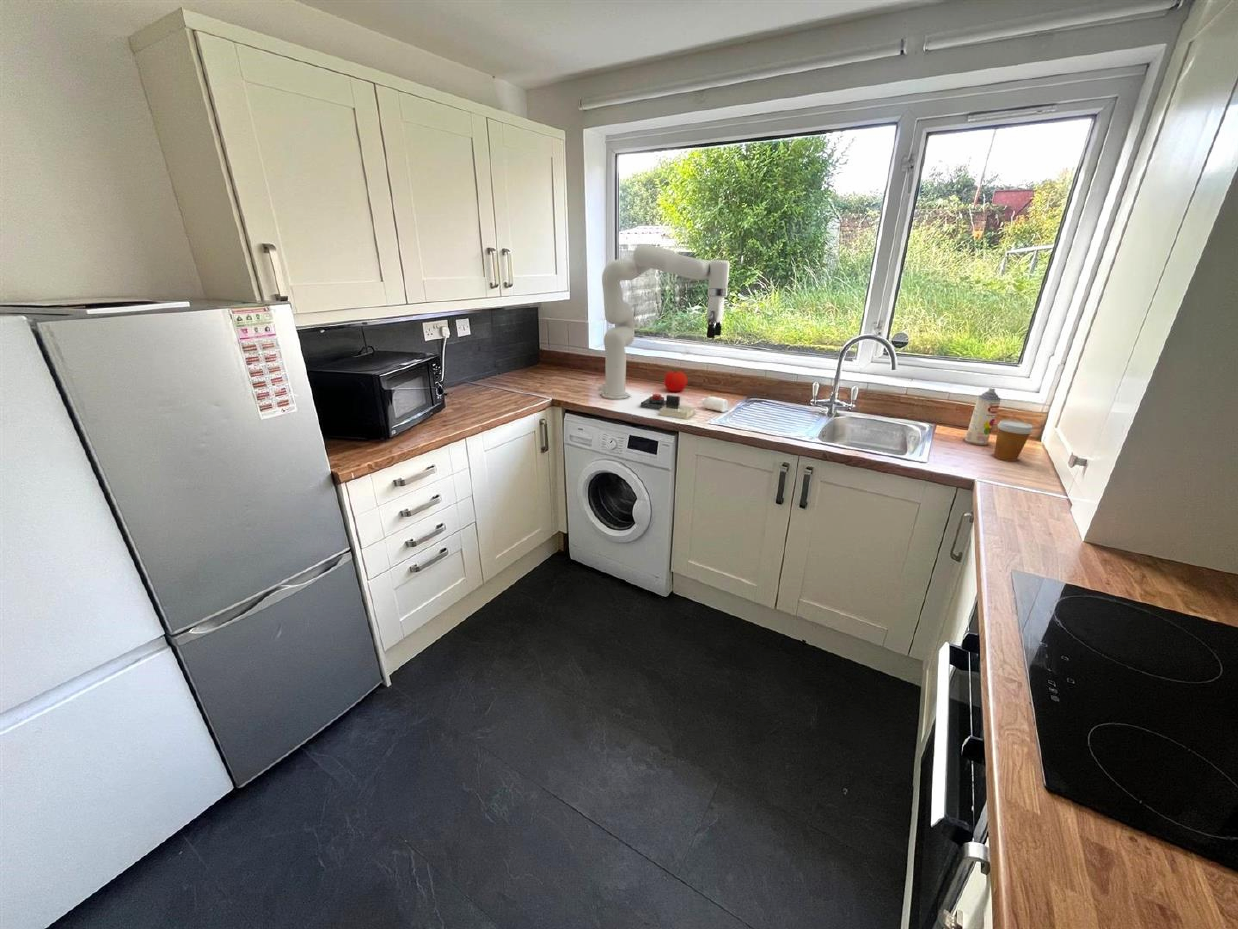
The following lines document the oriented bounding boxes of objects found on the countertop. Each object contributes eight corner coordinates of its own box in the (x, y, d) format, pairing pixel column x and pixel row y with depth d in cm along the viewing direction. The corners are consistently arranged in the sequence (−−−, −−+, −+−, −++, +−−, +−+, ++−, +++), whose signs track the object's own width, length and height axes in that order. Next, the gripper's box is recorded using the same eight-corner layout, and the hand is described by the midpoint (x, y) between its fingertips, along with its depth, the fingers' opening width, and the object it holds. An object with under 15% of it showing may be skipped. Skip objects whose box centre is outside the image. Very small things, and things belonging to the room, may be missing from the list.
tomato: (670, 387, 256) (671, 367, 252) (690, 390, 250) (692, 370, 246) (658, 391, 247) (659, 370, 243) (678, 394, 241) (680, 373, 237)
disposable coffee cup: (1024, 465, 161) (1036, 429, 157) (988, 459, 166) (999, 424, 162) (1020, 456, 169) (1032, 422, 165) (987, 451, 174) (997, 418, 169)
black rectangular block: (665, 407, 209) (666, 394, 207) (667, 406, 211) (668, 394, 209) (678, 408, 207) (679, 396, 205) (679, 407, 208) (680, 395, 207)
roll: (703, 405, 223) (704, 393, 221) (727, 410, 216) (729, 397, 214) (696, 408, 219) (697, 395, 217) (721, 413, 212) (722, 400, 210)
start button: (651, 399, 217) (651, 395, 217) (654, 397, 220) (654, 393, 220) (659, 400, 216) (659, 396, 215) (661, 398, 219) (662, 394, 218)
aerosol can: (979, 446, 178) (996, 391, 171) (960, 440, 184) (976, 387, 177) (991, 444, 181) (1008, 390, 174) (972, 438, 187) (987, 385, 179)
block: (640, 407, 218) (641, 398, 216) (648, 402, 225) (648, 394, 224) (664, 410, 214) (664, 401, 212) (671, 405, 221) (672, 397, 220)
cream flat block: (657, 414, 207) (657, 408, 206) (665, 409, 216) (666, 403, 215) (686, 419, 202) (687, 412, 201) (694, 413, 211) (694, 407, 210)
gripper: (713, 292, 209) (710, 333, 215) (702, 293, 194) (699, 338, 201) (731, 292, 206) (727, 335, 212) (721, 294, 191) (717, 339, 198)
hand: (713, 336), depth 207 cm, fingers open, 9 cm apart
